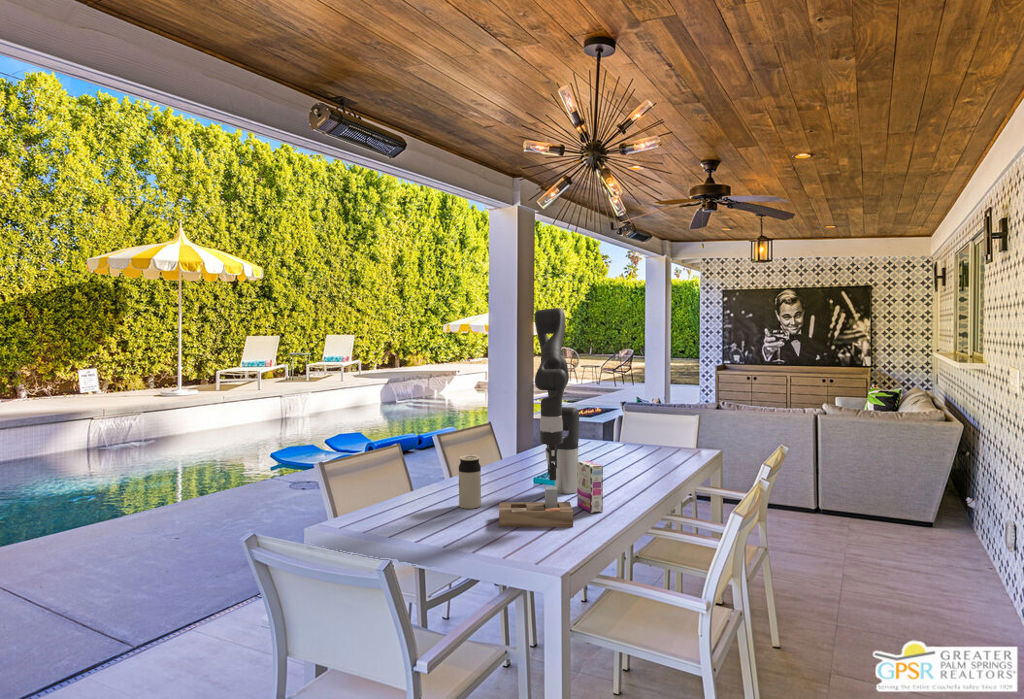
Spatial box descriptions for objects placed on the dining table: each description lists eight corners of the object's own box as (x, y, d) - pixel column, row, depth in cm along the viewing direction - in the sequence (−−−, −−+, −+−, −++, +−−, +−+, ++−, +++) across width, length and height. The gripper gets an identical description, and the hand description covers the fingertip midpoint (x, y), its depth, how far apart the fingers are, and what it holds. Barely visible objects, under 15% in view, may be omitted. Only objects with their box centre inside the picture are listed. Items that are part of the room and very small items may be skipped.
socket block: (499, 517, 225) (499, 501, 225) (569, 516, 225) (569, 500, 225) (499, 527, 213) (499, 511, 213) (573, 526, 213) (573, 510, 213)
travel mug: (483, 504, 242) (483, 455, 241) (476, 510, 234) (476, 459, 234) (463, 502, 244) (462, 454, 243) (455, 508, 236) (455, 458, 236)
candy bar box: (603, 512, 230) (603, 465, 229) (591, 513, 228) (590, 466, 227) (589, 504, 240) (588, 459, 240) (576, 505, 238) (576, 460, 238)
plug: (545, 516, 222) (544, 486, 222) (556, 515, 222) (556, 486, 222) (545, 519, 218) (545, 489, 218) (557, 519, 218) (557, 489, 218)
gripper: (539, 425, 226) (539, 472, 227) (541, 432, 212) (541, 482, 213) (560, 425, 226) (561, 472, 227) (564, 432, 212) (565, 482, 213)
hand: (551, 477), depth 220 cm, fingers open, 8 cm apart
